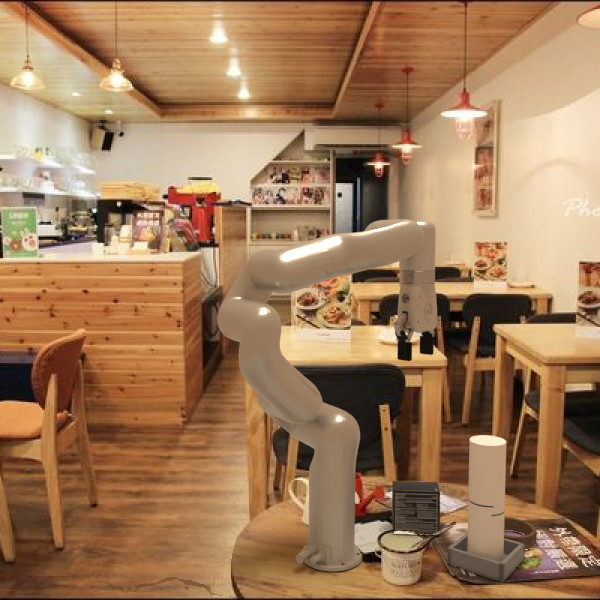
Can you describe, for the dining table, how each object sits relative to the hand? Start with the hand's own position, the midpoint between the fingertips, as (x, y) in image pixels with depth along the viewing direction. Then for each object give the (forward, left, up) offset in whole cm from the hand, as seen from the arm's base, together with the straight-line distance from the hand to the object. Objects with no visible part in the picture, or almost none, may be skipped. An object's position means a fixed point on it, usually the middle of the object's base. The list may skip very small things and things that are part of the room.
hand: (415, 357), depth 148 cm
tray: (-2, -18, -40) cm, 44 cm away
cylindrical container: (-2, -18, -40) cm, 44 cm away
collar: (+11, -18, -40) cm, 45 cm away
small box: (+3, +1, -41) cm, 41 cm away
